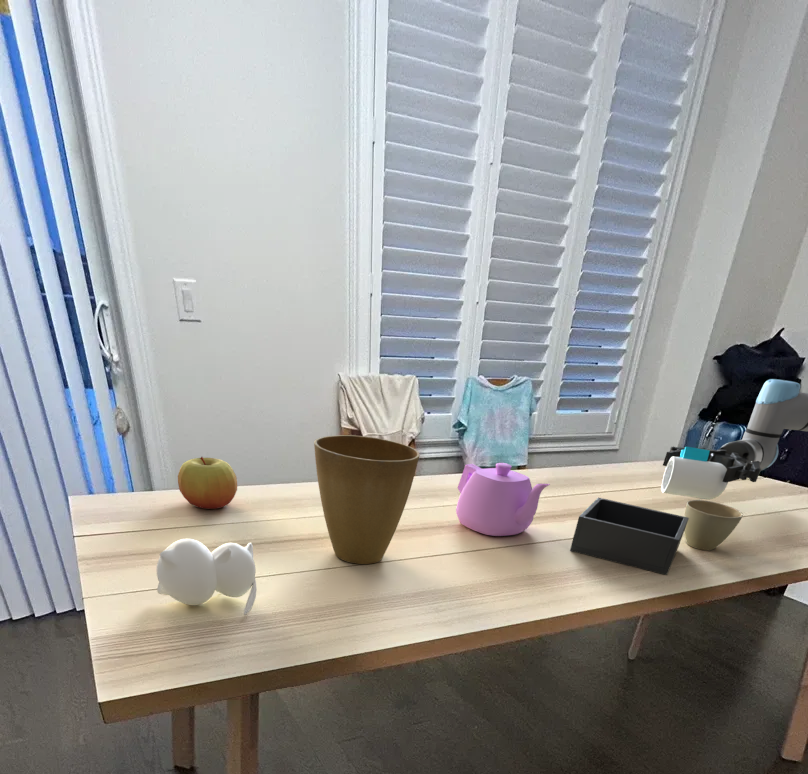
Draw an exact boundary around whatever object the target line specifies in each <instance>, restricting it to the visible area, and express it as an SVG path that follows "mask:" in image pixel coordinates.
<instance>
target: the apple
mask: <svg viewBox="0 0 808 774" xmlns="http://www.w3.org/2000/svg"><path fill="white" fill-rule="evenodd" d="M177 485H178V489H179V490H178V491H179V492H180V494H181V495H182V497H183V498H184V499H185V500H186V501H187V502H188V503H189V504H190V505H192V506H193V507H195V508H199V509H204V510H218V509H222V508H223V507H226V506H228V505H229V504H231V502H232V501H233V499H234V498H235V496H236V494H237V491H238V478H237V475H236V473H235V471H234V469H233V468H232V466H231V465H230V464H229V463H228V462H226V461H225V460H222V459H219V458H215V457H203V456H201V457H194V458H190V459H188V460H187V461H186V460H185V461H184V462H183V463H182V465H181V466H180V468H179V471H178V474H177Z"/></svg>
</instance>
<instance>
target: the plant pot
mask: <svg viewBox="0 0 808 774" xmlns="http://www.w3.org/2000/svg"><path fill="white" fill-rule="evenodd" d="M313 446H314V447H313V448H314V460H315V468H316V477H317V484H318V490H319V496H320V502H321V506H322V512H323V516H324V520H325V525H326V529H327V534H328V536H329V539H330V543H331V546H332V549H333V552H334V555H335V556H336V557H337V558H338V559H340V560H341V561H344V562H347V563H350V564H358V565H371V564H376V563H379V562H380V561H382V559H383V558H384V555H385V554H386V552H387V550H388V547H389V546H390V543H391V542H392V539H393V537H394V535H395V533H396V531H397V528H398V526H399V524H400V520H401V518H402V516H403V513H404V510H405V508H406V504H407V502H408V498H409V496H410V492H411V489H412V485H413V483H414V478H415V475H416V471H417V467H418V464H419V459H420V456H421V454H420V452H419V451H418V450H417V449H415V448H414V447H412V446H410V445H406V444H404V443H401V442H397V441H394V440H389V439H384V438H379V437H372V436H363V435H351V434H350V435H349V434H342V435H339V434H338V435H337V434H336V435H327V436H321V437H318V438H316V439H315V440H314V441H313Z"/></svg>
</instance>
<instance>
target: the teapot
mask: <svg viewBox="0 0 808 774" xmlns="http://www.w3.org/2000/svg"><path fill="white" fill-rule="evenodd" d="M512 467H513V466H512V465H511V464H509V463H506V462H497V463H495V467H485V468H482V467H480V466H478V465H476V464H474V463H467V464H465V465H464V468H463V471H462V473H461V477H460V479H459V482H458V485H457V490H458V491H459V493H460V494H459V497H458V499H457V503H456V508H455V514H456V516H457V517H456V518H457V519H458V521H459V523H460V524H461V525H462V526H464V527H466V528H468V529H470V530H472V531H475V532H478V533H480V534H483V535H486V536H493V537H494V536H495V537H503V536H504V537H505V536H506V537H507V536H514V535H518V534H521V533H524V532H525V531H526V530H527V529H528V528H529V527H530V526H531V524H532V523H533V520H534V516H536V515H535V514H536V513H537V510H538V507H539V501H540V497H541V494H542V492H543V490H544V489H545V488H547V487H549V486H551V484H550V483H537V484H535V485H534V486H533V487H532V482H531V479H530V477H529V476H528V475H526V474H523V473H520V472H517V471H515V470H511V469H512Z"/></svg>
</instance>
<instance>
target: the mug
mask: <svg viewBox="0 0 808 774" xmlns="http://www.w3.org/2000/svg"><path fill="white" fill-rule="evenodd" d="M698 448H699V447H692V446H685V449H682V450H681V454H680V457H674V456H673V457H671V458H670V460H669V462H668V464H667V466H665V470H664V472H663V476H662V481H661V485H660V491H661V493H662V494H666V495H667V494H668V495H673V496H681V497H687V498H694V499H699V500H705V501H711V500H714V499H716V498H718V497H719V496H720V495H722V494H723V492H724V491H725V490H726V488H727V486H728V484H729V482H727V483H726V482H722V481H723V479H724V476H725V474H726V471H727V469H726V467H725V466H724V465H722V464H720V463H716V462H709V461H707V459H708V456H709V452H710V450H711V449H709V450H708V449H706V448H705V449H698Z"/></svg>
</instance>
